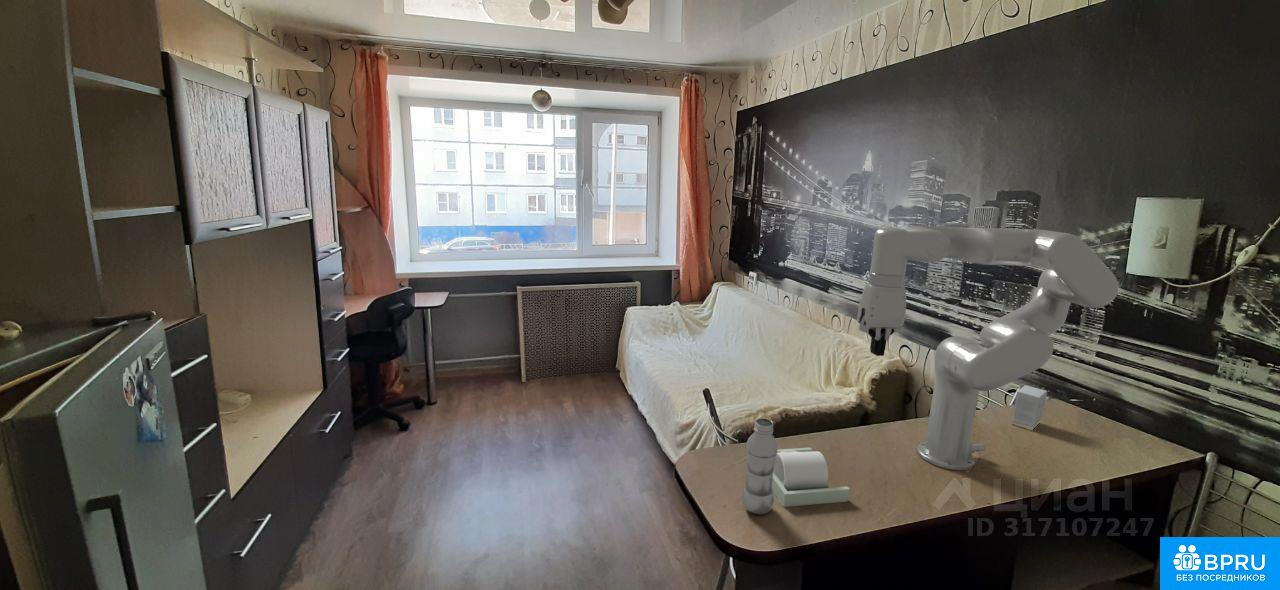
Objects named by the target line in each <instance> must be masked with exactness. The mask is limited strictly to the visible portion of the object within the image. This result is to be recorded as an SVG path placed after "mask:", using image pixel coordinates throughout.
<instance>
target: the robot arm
mask: <svg viewBox="0 0 1280 590" xmlns="http://www.w3.org/2000/svg"><path fill="white" fill-rule="evenodd" d="M874 233H875V234H874V239H873V246H872V247H873V248H872V253H871V254H872V255H871V261H870V262H871V264H870V269H869V270H870V271H869V279H868V284H865V285H864V288H863V289H862V290H863V291H862V292H861V296H860V301H859V304H858V310H857V314H856V315H857V316H856V322H857V323H858V324H859V326H858V330H859V331H860V332H862V333H867V334H868V336H869V337H870V338H871V339H870V347H869V349H870V353H871V354H873V355H874V356H876V357H884V356H885V351H886V348H887V347H886V346H887V341H888V340H890V337H891V336H892V335H893V334H894V333H896V332H901V331H902V328H903V327H902V326H903V325H904V323H905V320H906V311H907V292H906V291H907V290H906V287H905V282H908V280H909V276H907V275H906V271H907V270H906V269H907V263H908V261H914V262H915V261H916V262H921V263H936V262H939V261H941V260H943V259H945V258H946V259H953V260H957V261H958V260H959V261H963V262H967V263H972V264H977V265H978V264H979V265H983V266H984V265H988V266H990V265H991V266H1018V267H1019V266H1020V267H1036V268H1037V267H1038V268H1041V269H1044V270H1043V271H1042V272H1041V274H1040V276H1039V278H1038V283H1037V288H1036V291H1035V294H1034V295H1033V297H1032V299H1030V300H1029V302H1027V303H1026V304H1023V305H1022V306H1021V307H1019V308H1017V309H1015V310H1013V311H1011V312H1009V313H1007V314H1004V315H1003V316H1000V317H999V318H997V319H995V320H993V321H991V322H989V323H987V324H985V326H984V327H983V328H981V331H980V332H979V341H980V343H981V344H980V343H978V342H976V341H975V340H972V339H970V338H967V337H964V336H954V335H953V336H950V337H947V338H945V339H943V340H942V341H941V342H939V344H938V346H937V348H936V350H935V353H934V383H933V384H934V386H933V393H932V396H931V397H932V399H931V404H930V411H929V416H928V423H927V429H926V435H925V441H922V442H920V443H918V445H917V448H916V452H917V454H918V456H920V458H922V459H923V460H924V461H926V462H928V463H930V464H932V465H935V466H936V467H939V468H944V469H947V470H953V471H954V470H955V471H965V470H970V469H972V468H973V466H974V464H975V458H974V457H973V456H972V454H974V453H975V452H976V453H977V452H984V451H985V450H986V447H985V445H984V443H974V444H973V441H972V439H971V438H972V433H973V426H974V422H975V417H976V410H977V406H978V400H979V391H980V392H989V391H993V390H996V389H999V388H1001V387H1004V386H1005V385H1007V384H1010V383H1012V382H1014V381H1017V380H1018V379H1020V378H1023V377H1024V376H1026V375H1029V374H1031V373H1032V372H1035V371H1037V370H1038V369H1041V368H1042V367H1043V366H1044V365H1045V364H1046V363H1047V362H1048V361H1049V360H1050V358H1051V357H1052V356H1053V352H1054V342H1053V340H1052V338H1051V337H1050V336H1051V335H1052V334H1054V333H1056V332H1057V331H1059V330H1060V329H1061V328H1062V327H1063V325H1064V324H1065V322H1066V319H1067V317H1068V313H1069V309H1070V305H1071V303H1072V304H1075V305H1079V306H1082V307H1086V308H1094V309H1095V308H1096V309H1097V308H1101V307H1105V306H1107V305H1109V304H1110V303H1112V302H1113V301H1114V300H1115V299H1116V297H1117V296H1118V293H1119V283H1118V279H1117V277H1116V276H1115V274H1114V273H1113V272H1112V271H1111V269H1109V268H1108V267H1109V266H1107V265H1106V264H1105V263H1104V262H1103V260H1102V259H1101V258H1099V256H1098V255H1097V254H1096V253H1095V252H1094V250H1092V249H1091V247H1090V246H1089V245H1087V243H1086V242H1084V241H1083V240H1082V239H1081V238H1079V237H1078V236H1076V235H1074V234H1072V233H1069V232H1061V231H1053V230H1049V229H1048V230H1047V229H1039V228H1038V229H1036V228H1033V229H1030V228H1029V229H1028V228H997V227H954V226H953V227H951V226H927V225H911V226H907V227H905V228H898V227H897V228H896V227H881V228H879V229H877V230H876V231H875V232H874Z"/></svg>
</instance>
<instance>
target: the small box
mask: <svg viewBox="0 0 1280 590" xmlns="http://www.w3.org/2000/svg"><path fill="white" fill-rule="evenodd" d="M1047 394H1048V390H1046V389H1041V388H1038V387H1034V386H1030V385H1028V384H1027V385H1026V384H1025V385H1024V386H1022V387H1021V388H1020V389H1019V390H1018V391H1016V396H1015V401H1014V407H1013V412H1012V418H1011V422H1012V423H1016V424H1021V425H1025V426H1029V427H1033V428H1034V427H1035V426H1036V425H1037V423H1038V422H1039V421H1040V420H1041V421H1042V418H1043V413H1044V410H1045V405H1046V399H1047V396H1048V395H1047Z"/></svg>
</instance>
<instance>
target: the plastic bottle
mask: <svg viewBox="0 0 1280 590" xmlns="http://www.w3.org/2000/svg"><path fill="white" fill-rule="evenodd" d="M753 431H754V432H753V433H752V434H751V435H750V436H749V437H748V439H747V442H746V445H745V446H746V447H745V448H746V459H747V463H746V464H747V465H746V467H747V471H746V478H745V479H746V480H745V485H744V488H743V492H742V504H743V506H744V507H745V510H747V511H748V512H749V513H752V514H754V515H765V514H768V513H769V512H770V511H772V509H773V506H774V502H775V494H774V492H773V471H774V464H775V460H776V456H777V452H778V450H779V445H778V442H777V440H776V438H775V436H774V435H773V432H774V422H773V421H772V420H770V419H769V418H765V417H763V418H757V419H755V421H754V426H753Z"/></svg>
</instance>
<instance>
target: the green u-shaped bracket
mask: <svg viewBox="0 0 1280 590" xmlns="http://www.w3.org/2000/svg"><path fill="white" fill-rule="evenodd" d="M786 450H792V451H797V452H812V451H813V448H812V447H799V448H796V447H795V448H780V449H779V448H778V452H777V453H780V452H782V451H786ZM850 490H851V489H850V487H848V486H846V485H845V486H837V487H824V488H815V489H796V490H786V489H785V487H784V486H783V485H782V483H781V482H780V481H779V479H778V478H777V477H776V475H775V474H774V473H773V493H774V496H776V498H777V499H778V501H779V502H780V503H781V504H782V507H784V508H785V507H787V508H788V507H797V506H809V505H820V504H821V505H822V504H832V503H833V504H835V503H845V502H849V499H850V492H851V491H850Z"/></svg>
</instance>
